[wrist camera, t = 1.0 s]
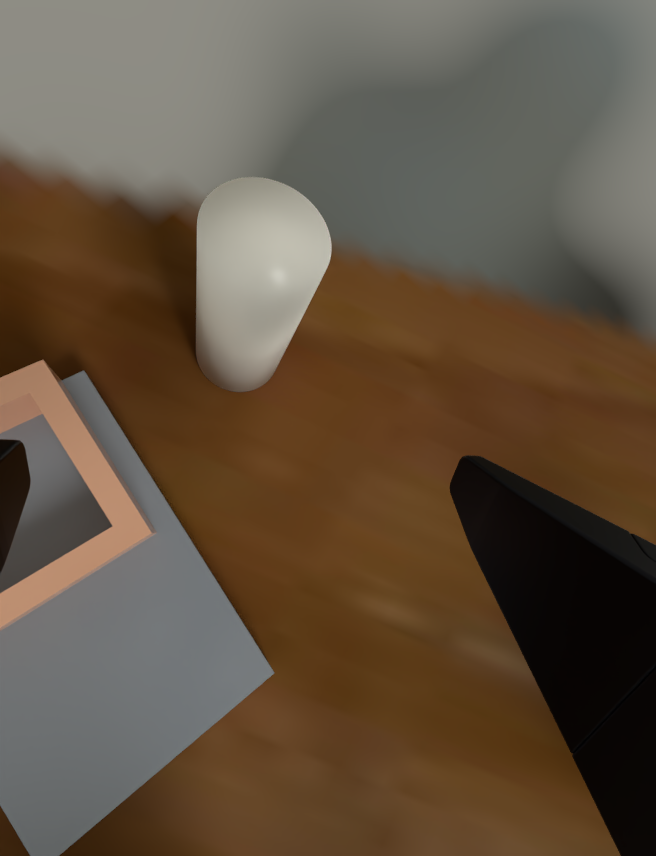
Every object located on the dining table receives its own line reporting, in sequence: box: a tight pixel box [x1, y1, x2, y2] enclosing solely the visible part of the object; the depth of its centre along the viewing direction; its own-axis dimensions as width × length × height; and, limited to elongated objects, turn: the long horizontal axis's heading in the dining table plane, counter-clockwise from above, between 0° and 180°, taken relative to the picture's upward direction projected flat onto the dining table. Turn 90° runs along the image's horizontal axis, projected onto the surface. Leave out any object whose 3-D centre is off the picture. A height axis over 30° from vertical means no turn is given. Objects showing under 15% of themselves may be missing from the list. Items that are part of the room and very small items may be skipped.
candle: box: [196, 177, 331, 392], centre depth 19 cm, size 4×4×10 cm
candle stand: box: [0, 360, 274, 856], centre depth 17 cm, size 16×10×4 cm, turn 35°
